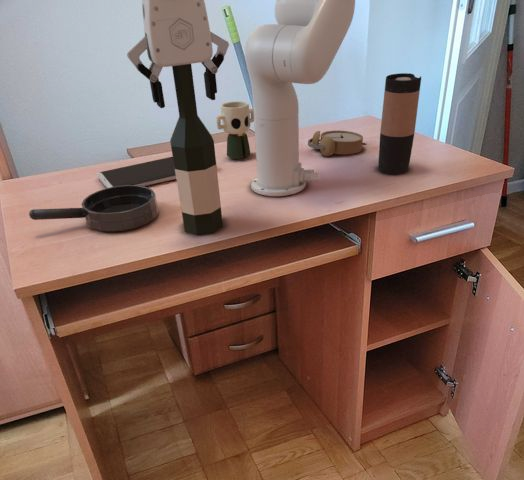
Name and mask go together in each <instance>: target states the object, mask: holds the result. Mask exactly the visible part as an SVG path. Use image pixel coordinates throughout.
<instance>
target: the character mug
mask: <svg viewBox="0 0 524 480" xmlns="http://www.w3.org/2000/svg"><path fill="white" fill-rule="evenodd" d="M220 113H221V114H219V115H217V116H216V128H217V130H222V131H223V132H224V133H225V134H228V135H227V137H226V138H227V139H226V156H227V157H229V158H230V159H232V160H233V159H234V160H241V159H244V157H245V158H249V157H250V156H251V147H250V143H249V137H248V135H247V133H248V132H249V130H250V128H251V123H254V109H253V108H250V105H249V102H247V101H241V100H240V101H239V100H237V101H227V102H224V103H222V104H220Z"/></svg>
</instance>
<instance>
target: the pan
mask: <svg viewBox="0 0 524 480" xmlns="http://www.w3.org/2000/svg"><path fill="white" fill-rule="evenodd" d="M156 196H157V195H156V192H155V191H154V189H151V188H150V187H149V186H148V187H147V186H138V185H124V186H115V187H110V188H106V187H105V188H103V189H100V190H97V191H95V192H92V193H91V194H88V195H87V196H86V197H85V198H84V199H83V200H82V202H81V208H83V211H84V214H85V217H84V218H85V221H86V224H87V226H88V227H90V228H91V229H94V230H98V231H100V232H105V233H106V232H108V233H109V232H110V233H117V232H126V231H131V230H134V229H138V228H141V227H143V226H146V225H147V224H148V223H149V224H150V222H152V221H153V220H154V219H155V218H156V217H157V216H158V213H159V207H158V202H157V201H158V200H157V197H156Z"/></svg>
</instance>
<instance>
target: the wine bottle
mask: <svg viewBox="0 0 524 480" xmlns="http://www.w3.org/2000/svg"><path fill="white" fill-rule="evenodd" d="M171 68H172V75H173V82H174V89H175V96H176V102H177V109H178V119H177V121H176V124H175V127H174V130H173V132H172V135H171V137H170V148H171V149H170V150H171V155H172V157H173V161H174V167H175V174H176V179H175V180H176V187H177V191H178V197H179V198H178V199H179V204H180V210H181V216H182V222H183V230H184V232H185V233H188V234H190V235H193V236H194V235H195V236H202V235H203V236H204V235H211V234H214V233H216V232H217V231H219V230H221V229H222V228H224V224H223V223H224V222H223V214H222V213H223V212H222V204H221V195H220V186H219V177H218V167H217V159H216V158H217V157H216V149H215V140H214V138H213V136H212V134H211V132H210V131H209V130H208V128H207V127H206V125H205V123H204V122H203V121H202V119H201V118H200V116H199V115H198V107H197V100H196V91H195V84H194V75H193V68H192V64H185V65H178V66H171Z"/></svg>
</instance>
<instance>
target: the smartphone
mask: <svg viewBox="0 0 524 480" xmlns="http://www.w3.org/2000/svg"><path fill="white" fill-rule="evenodd" d="M97 178H98V179H99V181H100V182H101V183H102V184H103V185H104V187H105V189H106V188H110V187H115V186H124V185H138V186H144V187H147V186H152V185H155V184H160V183H164V182H169V181H173V180H176V174H175V167H174V161H173V156H169V157H164V158H160V159H155V160H151V161H150V160H149V161H145V162H140V163H136V164H135V163H134V164H131V165H126V166H122V167H117V168H113V169H112V168H111V169H107V170H103V171H99V172H98V173H97Z"/></svg>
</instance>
